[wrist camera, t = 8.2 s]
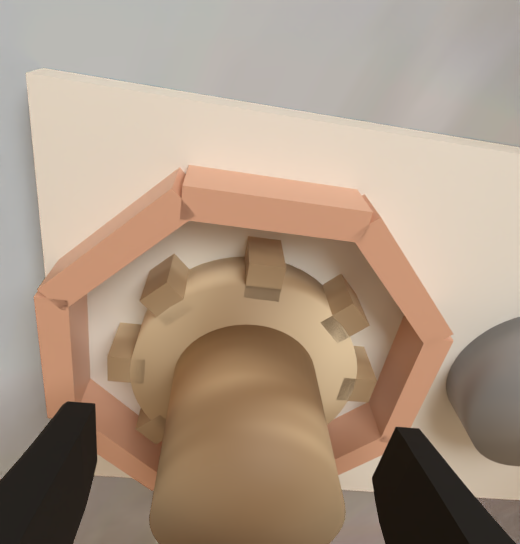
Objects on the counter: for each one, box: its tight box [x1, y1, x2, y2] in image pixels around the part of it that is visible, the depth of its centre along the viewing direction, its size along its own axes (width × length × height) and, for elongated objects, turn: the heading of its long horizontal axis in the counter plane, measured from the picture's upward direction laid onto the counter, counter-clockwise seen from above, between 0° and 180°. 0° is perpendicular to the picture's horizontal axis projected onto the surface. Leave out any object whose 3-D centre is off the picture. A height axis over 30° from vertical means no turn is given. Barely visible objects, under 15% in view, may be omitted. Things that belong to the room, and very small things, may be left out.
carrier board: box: [26, 68, 520, 500], centre depth 14 cm, size 20×14×3 cm
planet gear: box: [107, 236, 377, 544], centre depth 11 cm, size 8×8×6 cm
